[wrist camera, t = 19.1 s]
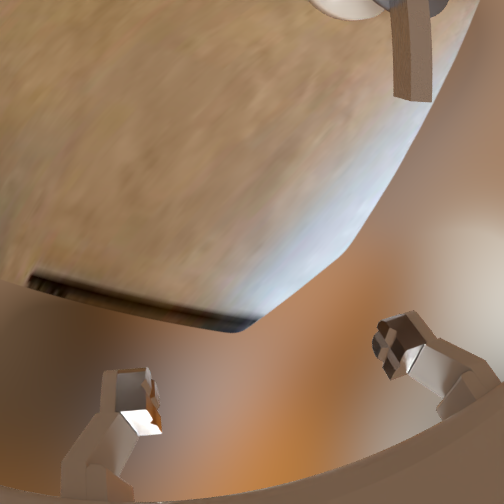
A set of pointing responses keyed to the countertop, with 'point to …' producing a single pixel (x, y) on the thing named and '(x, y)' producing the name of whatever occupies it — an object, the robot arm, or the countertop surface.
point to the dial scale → (364, 8)
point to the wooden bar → (411, 49)
